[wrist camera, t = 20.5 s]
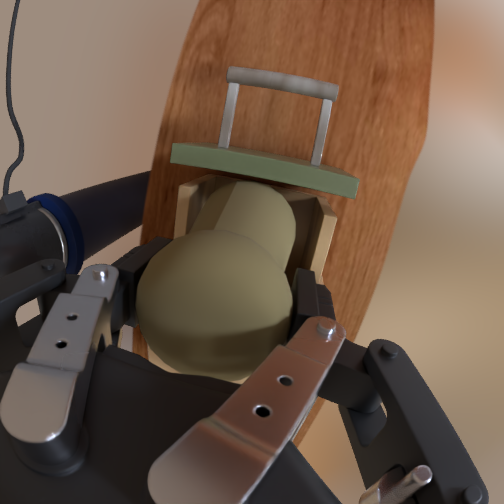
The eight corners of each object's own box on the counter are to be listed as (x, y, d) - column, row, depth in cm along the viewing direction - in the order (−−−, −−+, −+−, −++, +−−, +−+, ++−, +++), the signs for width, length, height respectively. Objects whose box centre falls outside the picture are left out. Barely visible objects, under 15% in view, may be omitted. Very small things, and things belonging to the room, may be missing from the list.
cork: (286, 281, 19) (283, 420, 9) (195, 265, 20) (118, 382, 9) (304, 189, 17) (335, 261, 7) (203, 173, 17) (100, 220, 7)
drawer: (218, 77, 21) (188, 53, 14) (353, 102, 20) (378, 85, 13) (188, 288, 28) (158, 331, 21) (301, 313, 27) (301, 366, 20)
